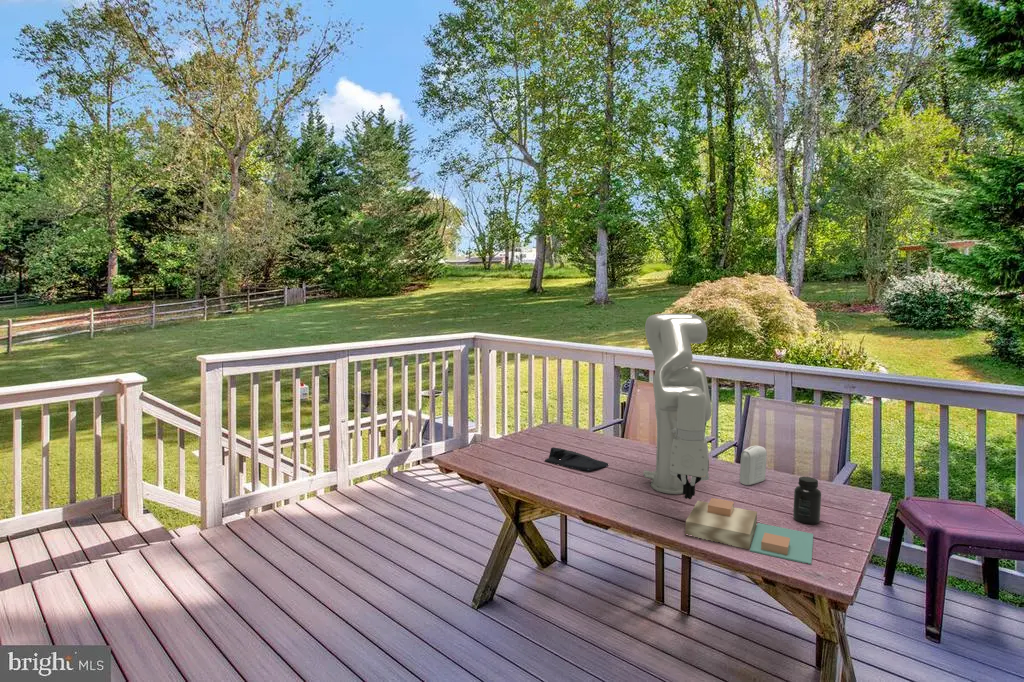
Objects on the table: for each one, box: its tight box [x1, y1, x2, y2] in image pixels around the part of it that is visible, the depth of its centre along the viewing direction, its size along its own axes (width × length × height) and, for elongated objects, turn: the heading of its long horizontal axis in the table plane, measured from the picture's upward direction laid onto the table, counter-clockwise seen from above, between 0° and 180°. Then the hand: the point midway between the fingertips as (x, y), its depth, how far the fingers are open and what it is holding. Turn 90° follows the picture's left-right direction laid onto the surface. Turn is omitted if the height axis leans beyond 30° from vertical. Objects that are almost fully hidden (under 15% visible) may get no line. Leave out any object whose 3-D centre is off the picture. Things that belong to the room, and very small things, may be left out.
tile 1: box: [708, 497, 735, 516], centre depth 157 cm, size 6×6×2 cm
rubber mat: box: [749, 522, 814, 565], centre depth 147 cm, size 14×18×1 cm
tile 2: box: [761, 533, 790, 555], centre depth 143 cm, size 6×6×2 cm
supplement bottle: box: [792, 476, 822, 525], centre depth 160 cm, size 7×7×12 cm
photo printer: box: [739, 445, 768, 486], centre depth 190 cm, size 10×4×12 cm, turn 123°
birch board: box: [684, 500, 758, 550], centre depth 154 cm, size 16×16×4 cm
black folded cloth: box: [544, 447, 609, 472], centre depth 210 cm, size 15×22×5 cm
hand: (688, 497), depth 161 cm, fingers closed
